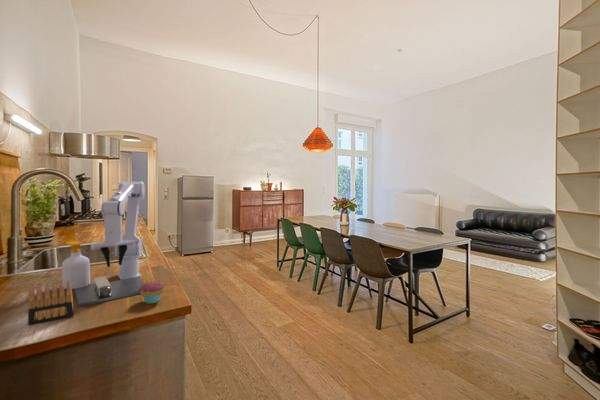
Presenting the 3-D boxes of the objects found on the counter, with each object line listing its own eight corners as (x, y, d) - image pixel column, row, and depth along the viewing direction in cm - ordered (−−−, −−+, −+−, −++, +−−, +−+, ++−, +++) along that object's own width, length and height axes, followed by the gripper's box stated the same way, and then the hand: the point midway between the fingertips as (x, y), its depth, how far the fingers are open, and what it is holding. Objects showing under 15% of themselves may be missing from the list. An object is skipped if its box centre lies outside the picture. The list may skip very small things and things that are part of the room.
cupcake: (136, 306, 100) (135, 273, 99) (142, 297, 108) (142, 266, 107) (163, 304, 102) (162, 271, 101) (167, 295, 110) (167, 264, 109)
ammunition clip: (73, 314, 93) (72, 278, 92) (73, 317, 91) (72, 280, 91) (29, 323, 87) (27, 285, 86) (27, 326, 85) (26, 287, 85)
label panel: (74, 291, 112) (74, 287, 112) (137, 279, 126) (137, 276, 126) (78, 307, 98) (78, 302, 98) (148, 291, 113) (148, 288, 113)
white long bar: (93, 284, 115) (93, 277, 115) (105, 282, 118) (105, 275, 118) (99, 298, 102) (99, 290, 102) (112, 295, 105) (112, 287, 104)
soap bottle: (75, 290, 112) (73, 229, 111) (56, 288, 114) (54, 228, 113) (95, 283, 121) (94, 225, 120) (78, 281, 123) (76, 224, 121)
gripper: (91, 234, 104) (92, 271, 105) (136, 230, 113) (137, 264, 114) (89, 231, 109) (90, 266, 110) (132, 228, 118) (133, 260, 119)
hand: (114, 265), depth 112 cm, fingers open, 3 cm apart
